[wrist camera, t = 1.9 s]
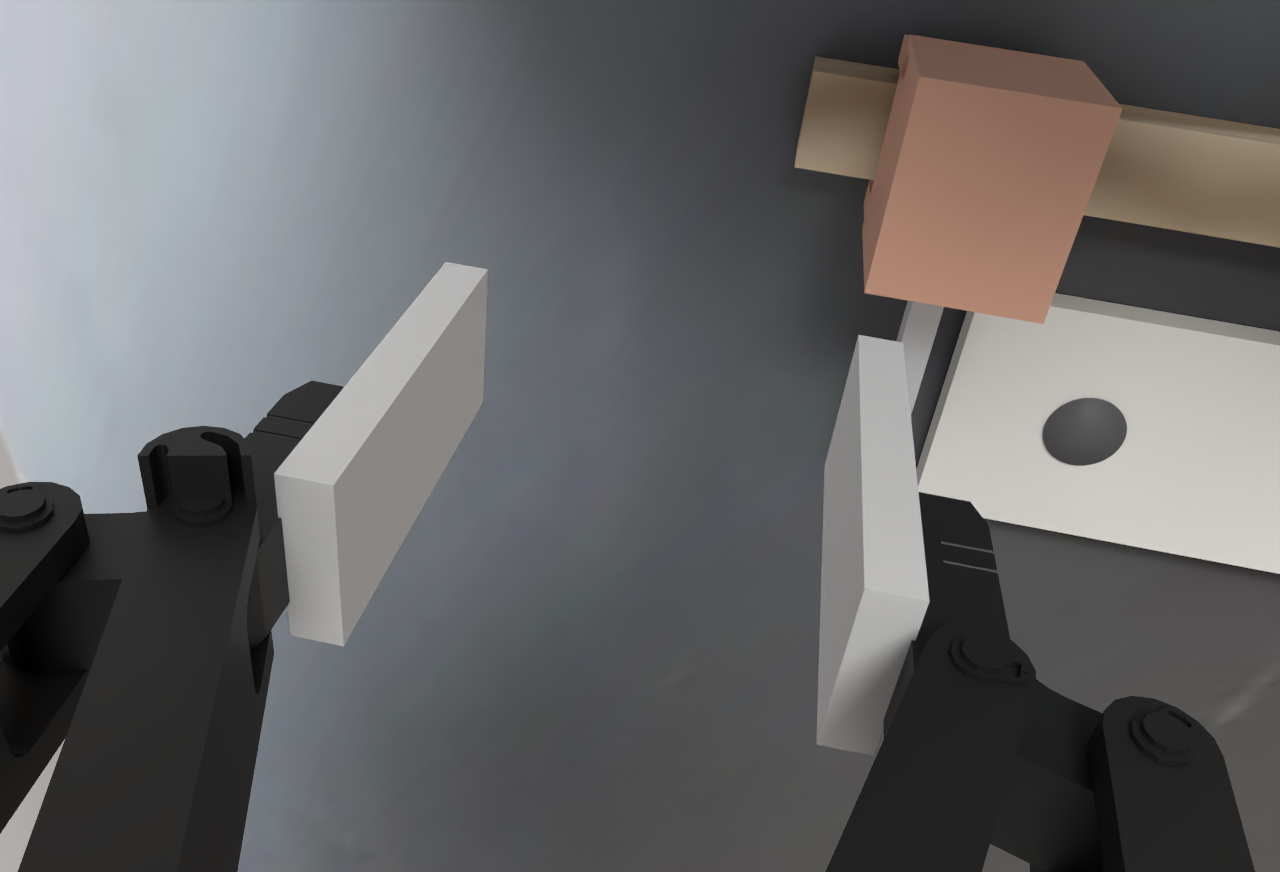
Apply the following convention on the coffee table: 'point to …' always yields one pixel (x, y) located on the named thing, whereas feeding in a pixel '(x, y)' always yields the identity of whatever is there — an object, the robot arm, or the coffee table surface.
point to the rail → (1129, 176)
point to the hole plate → (1116, 429)
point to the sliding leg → (980, 184)
